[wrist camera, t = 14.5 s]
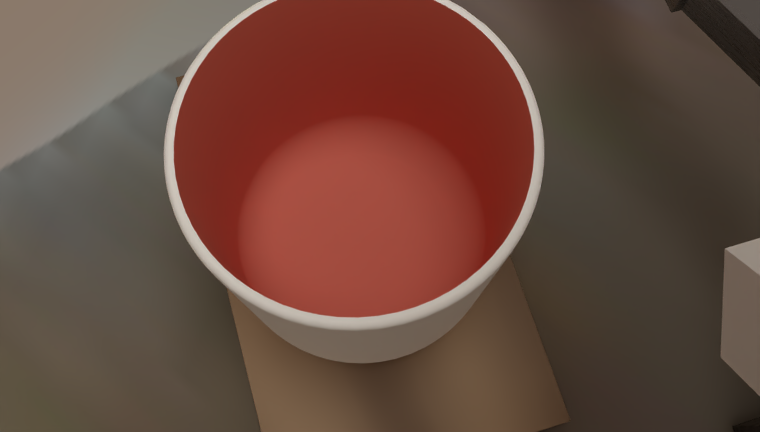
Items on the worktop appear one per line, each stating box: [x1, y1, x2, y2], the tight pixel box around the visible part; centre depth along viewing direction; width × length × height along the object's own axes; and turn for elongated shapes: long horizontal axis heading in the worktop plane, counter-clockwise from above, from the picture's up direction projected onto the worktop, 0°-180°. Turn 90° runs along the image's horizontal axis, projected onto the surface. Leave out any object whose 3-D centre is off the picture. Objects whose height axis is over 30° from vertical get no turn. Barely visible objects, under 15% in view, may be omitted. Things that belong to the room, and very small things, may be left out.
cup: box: [164, 0, 544, 363], centre depth 23 cm, size 10×10×10 cm
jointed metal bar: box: [665, 0, 760, 432], centre depth 25 cm, size 5×28×10 cm, turn 17°
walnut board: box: [176, 75, 571, 432], centre depth 28 cm, size 11×18×1 cm, turn 17°
